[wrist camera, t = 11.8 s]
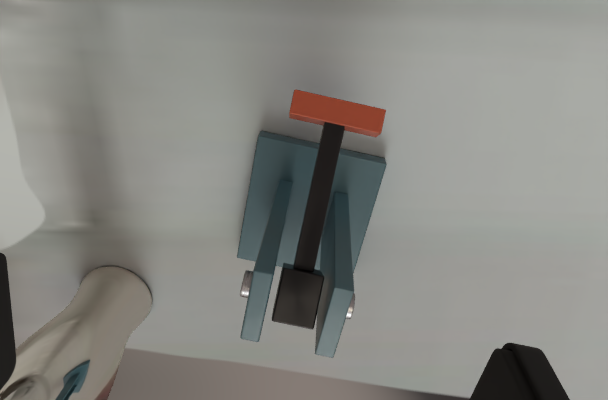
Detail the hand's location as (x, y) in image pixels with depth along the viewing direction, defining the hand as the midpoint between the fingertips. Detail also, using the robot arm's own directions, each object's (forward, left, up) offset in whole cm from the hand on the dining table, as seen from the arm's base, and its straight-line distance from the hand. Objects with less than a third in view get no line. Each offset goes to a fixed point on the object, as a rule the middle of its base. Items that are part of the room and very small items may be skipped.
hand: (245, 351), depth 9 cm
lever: (+5, +2, -17) cm, 18 cm away
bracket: (+9, +2, -25) cm, 26 cm away
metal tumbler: (+21, -12, -25) cm, 35 cm away
